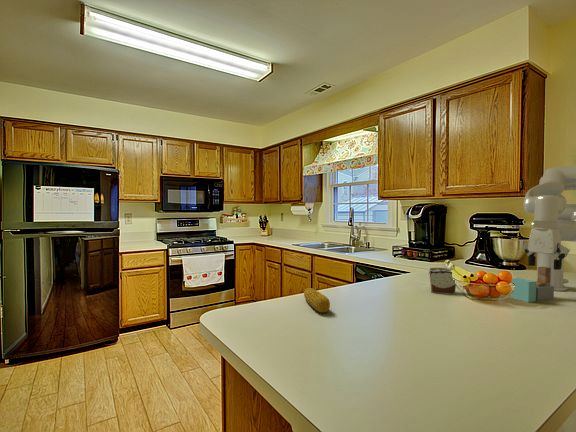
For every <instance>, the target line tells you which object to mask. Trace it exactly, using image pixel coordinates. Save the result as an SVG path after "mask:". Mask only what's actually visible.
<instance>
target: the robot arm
mask: <svg viewBox="0 0 576 432" xmlns="http://www.w3.org/2000/svg"><path fill="white" fill-rule="evenodd" d="M538 182H539V183H538V184H537V185H535V186H533V187H531V188H530V189H528V190H527V192H526V193H525V195H524V199H523V210H524V212H526V213H527V214H534V215H533V216H534V218H533V222H531V226H533V228H531V230H530V233H529V236H528V237H529V238H528V242H527V243H524V244H523V245H522V248H523V250H524V252H525V254H526V256H527V257H528V258H527V259H528V262H527V263H528V266H532V267H533V266H534V267H535V266H536V280H537V279H538V267H548V268H551V279H550V286H554V292H555V291H557V292H565V291H567V290H568V286H566V285H564V284H569V282H570V281H569V279H567V278H564V272H565V271H564V268H565V267H564V266H565V265H564V264H565V262H564V261H565V258H566V257H567V256H568V254H569V253H570V252H571V249H570V248H568V247H566V246H565V245H562V242H576V203H567V202H568V201H567V198H566V197H565V196H564V195H562V193H563V192H564V191H576V165H569V166H568V165H567V166H553V167H549V168H547V169H546V170H545V171H544V173H543V174H542V176H541V177H540V179H539V181H538ZM536 254H537V257H536ZM536 259H537V260H536ZM536 261H537V262H536ZM536 263H537V264H536Z"/></svg>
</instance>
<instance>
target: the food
mask: <svg viewBox="0 0 576 432" xmlns="http://www.w3.org/2000/svg"><path fill="white" fill-rule="evenodd" d="M303 296H304V299H305V300H306V302H307V303H308V304H309V305H310V306H311V307H312V309H313V308H314V309H315V311H317V312H318V313H321V314H322V313H326V312H328V311H329V310H330V308H331V301H330V299H329V298H328V297H327V296H326V295H324V294H322V293H321V292H320V291H318V290H317V289H315V288H311V287H307V288H305V289H304V291H303Z"/></svg>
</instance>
